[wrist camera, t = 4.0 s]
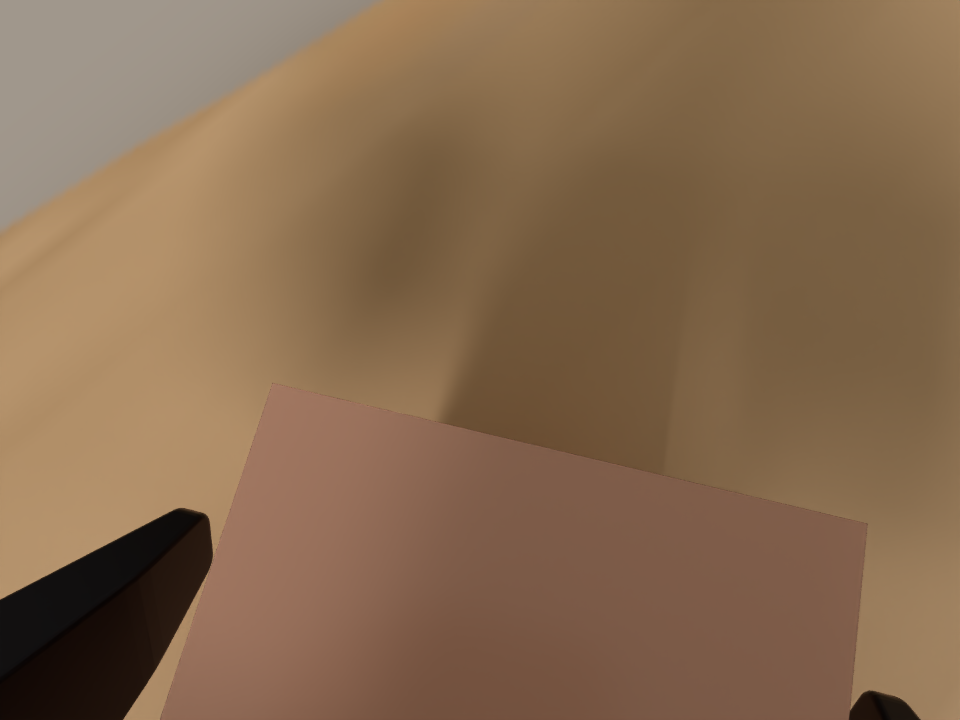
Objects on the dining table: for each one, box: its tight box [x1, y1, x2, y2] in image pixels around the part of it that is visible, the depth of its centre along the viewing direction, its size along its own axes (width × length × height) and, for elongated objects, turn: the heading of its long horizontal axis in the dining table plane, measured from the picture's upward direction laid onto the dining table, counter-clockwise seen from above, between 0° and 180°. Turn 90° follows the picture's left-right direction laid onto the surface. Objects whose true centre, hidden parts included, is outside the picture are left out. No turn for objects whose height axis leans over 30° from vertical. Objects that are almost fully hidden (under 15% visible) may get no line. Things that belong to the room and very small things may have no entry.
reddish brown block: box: [160, 383, 867, 720], centre depth 11 cm, size 6×6×10 cm
